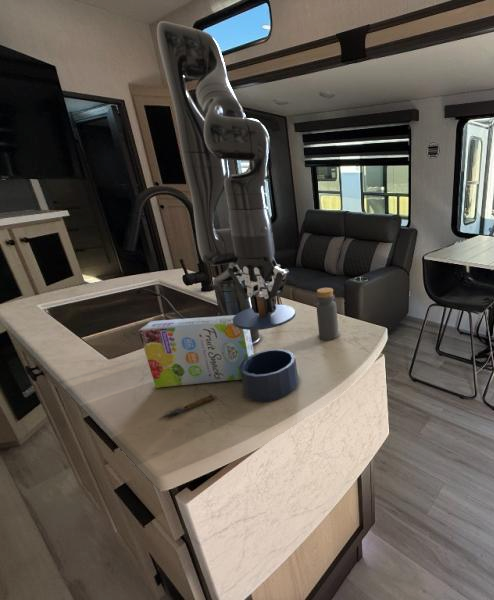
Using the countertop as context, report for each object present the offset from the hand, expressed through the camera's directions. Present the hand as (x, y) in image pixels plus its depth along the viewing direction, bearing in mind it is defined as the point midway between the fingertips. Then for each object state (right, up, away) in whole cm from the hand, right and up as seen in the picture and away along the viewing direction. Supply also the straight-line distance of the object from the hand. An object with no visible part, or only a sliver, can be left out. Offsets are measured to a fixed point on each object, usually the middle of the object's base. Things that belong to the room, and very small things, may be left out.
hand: (264, 312), depth 69 cm
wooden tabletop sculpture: (-13, -4, +43) cm, 45 cm away
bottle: (+7, -9, +30) cm, 32 cm away
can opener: (-15, -20, -2) cm, 25 cm away
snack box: (-17, -16, +9) cm, 25 cm away
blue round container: (-1, -17, +5) cm, 18 cm away
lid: (0, -1, 0) cm, 1 cm away
